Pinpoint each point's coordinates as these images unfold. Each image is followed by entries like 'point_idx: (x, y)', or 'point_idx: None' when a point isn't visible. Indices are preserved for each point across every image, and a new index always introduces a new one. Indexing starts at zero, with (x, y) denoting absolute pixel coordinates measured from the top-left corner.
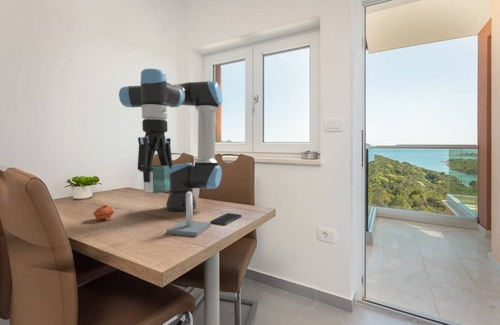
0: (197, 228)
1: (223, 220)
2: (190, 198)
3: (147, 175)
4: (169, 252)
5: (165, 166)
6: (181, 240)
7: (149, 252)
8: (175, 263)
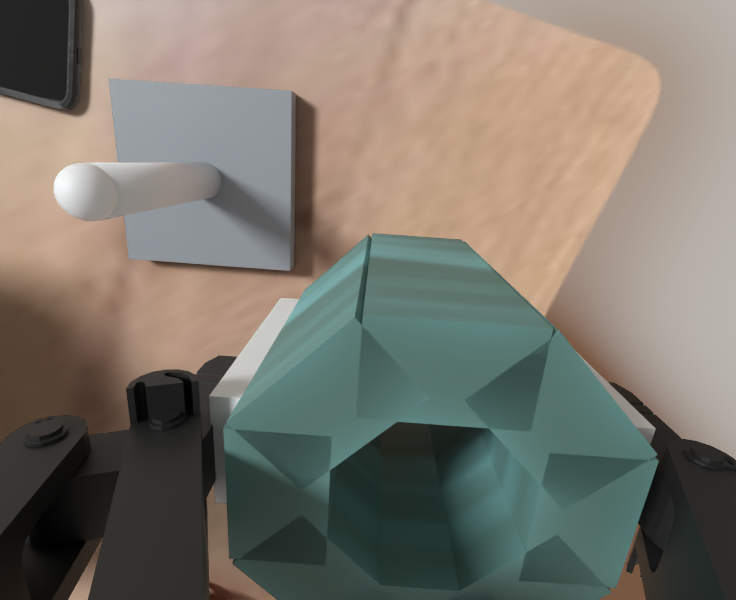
0: (232, 114)
1: (10, 25)
2: (121, 169)
3: (663, 429)
4: (499, 136)
5: (401, 373)
6: (360, 151)
7: (506, 223)
8: (604, 49)
